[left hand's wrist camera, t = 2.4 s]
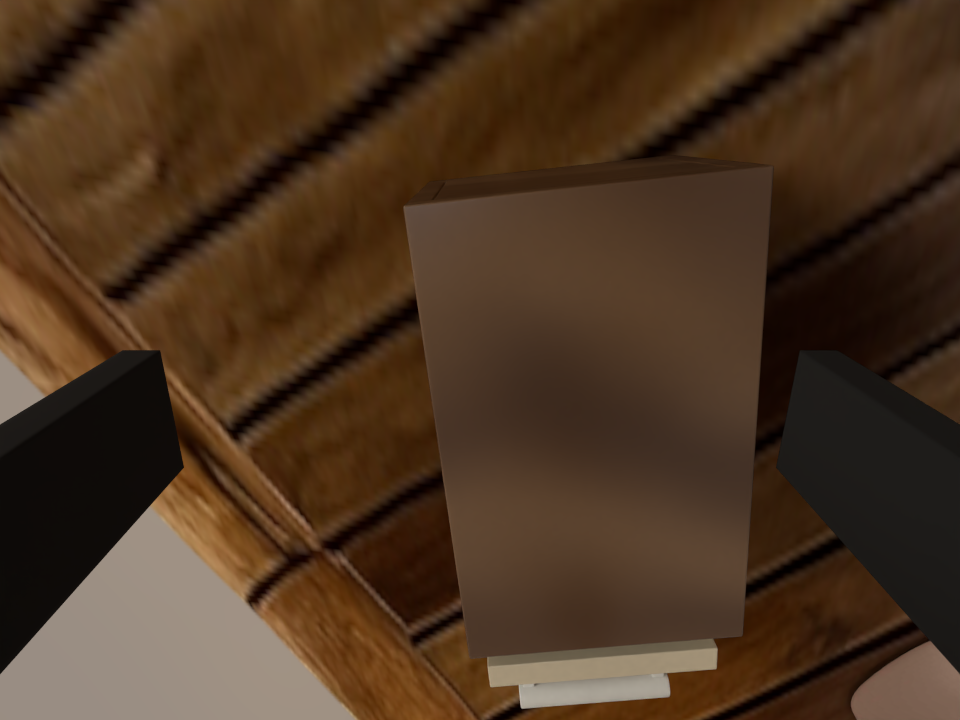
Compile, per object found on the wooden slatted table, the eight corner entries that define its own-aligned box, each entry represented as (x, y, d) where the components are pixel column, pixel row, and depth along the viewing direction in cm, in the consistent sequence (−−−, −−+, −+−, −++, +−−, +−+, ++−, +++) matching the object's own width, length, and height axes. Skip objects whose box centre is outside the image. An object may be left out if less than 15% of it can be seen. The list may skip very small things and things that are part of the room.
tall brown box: (669, 497, 33) (743, 637, 24) (471, 515, 33) (469, 659, 24) (672, 155, 26) (774, 165, 17) (428, 182, 27) (402, 205, 18)
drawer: (662, 621, 35) (713, 754, 27) (496, 635, 35) (501, 769, 28) (664, 245, 27) (735, 287, 20) (451, 268, 27) (440, 317, 20)
